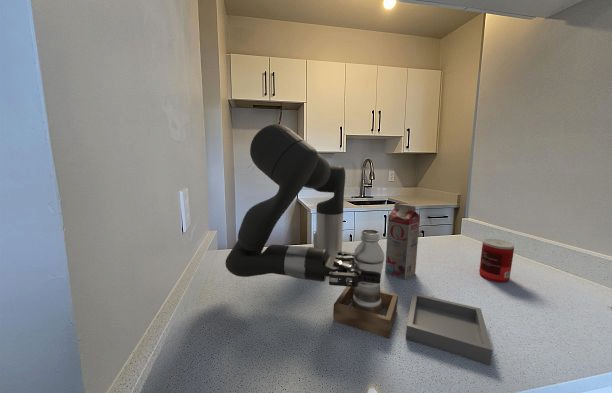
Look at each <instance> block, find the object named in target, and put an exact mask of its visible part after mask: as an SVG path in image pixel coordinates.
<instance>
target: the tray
mask: <svg viewBox="0 0 612 393" xmlns="http://www.w3.org/2000/svg"><path fill="white" fill-rule="evenodd" d="M410 301H411V302H410V307H409V311H408V312H409V313H408V317H407V321H406V322H407V323H406V331H405V340H408V341H412V342H413V343H417V344H420V345H423V346H426V345H427V346H426V347H430V348H433V347H434V349H436V350H439V351H442V352H446V353H449V354H453V355H456V356H459V357H462V358H466V359H468V360H471V361H474V362H478V363H480V364H481V363H482V364H484V365H488V366H491V364H492V363H491V362H492V356H493V348H492V345H491V340H490V338H489V333H488V330H487V325H486V323H485V318H484V315H483V312H482V308H480V307H475V306H471V305H467V304H463V303H457V302H454V301H450V300H446V299H441V298H436V297H433V296H428V295H424V294H419V293H415V292H413V293H412V296H411V300H410Z"/></svg>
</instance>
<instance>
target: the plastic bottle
mask: <svg viewBox="0 0 612 393" xmlns="http://www.w3.org/2000/svg"><path fill="white" fill-rule="evenodd" d="M360 240H361V241H360V243H359V244H358V245H357V246H356V247H355V249H354V252H353V253H354V261H355V269H358V270H361V271H362V272H363V271H371V272H378V273H380V275H381V277H380V283H379V284H376V283H368V282H361V283H358V286H357V287H355V291H354V296H353V300H351V301H352V302H351V307H355V308H358V309H362V310H365V311H369V312H372V313H376V314H379V315H382V314H381V313H382V310H383V309H382V301H381V293H380V290H381V281H382V280H381V279H382V271H383V267H384V266H383V265H384V261H385V253H384V251H383V249H382V246H381V245H380V244H379V241H380V232H379V231H378V230H377V229H376V230H375V229H370V228H368V229H367V228H366V229H362V230H361V236H360Z"/></svg>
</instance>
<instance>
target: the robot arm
mask: <svg viewBox="0 0 612 393" xmlns="http://www.w3.org/2000/svg"><path fill="white" fill-rule="evenodd" d="M250 143H251V144H250V147H249V154H250V158H251V161H252V162H253V164H254V165H255V167H256V168H258V169H259V171H261V172H262V173H263V174H264V175H266V176H267V177H268V178H269V179H270V180H271V181H272V182H274V183H275V184H276V185H278V191H277V192H276V194H275V195H274V196H272V197H270V198H268V199H266V200H263V201H261V202H258V203H255V204H254V205H253V206H252V207H250V208H249V209H248V210H247V211H246V213H245V214H244V216H243V219H242V222H241V224H240V227H239V229H238V233H237V241H236V242H235V244H234V246H233V247H232V249H231V250H230V252H229V253H228V255H227V257H226V258H225V261H224V262H225V267H226V269H227V271H228V272H229V273H230V274H232V275H234V276H236V277H241V278H242V277H243V278H246V277H247V278H248V277H257V276H262V275H263V276H264V275H269V274H274V275H279V276H280V275H281V276H287V277H291V278H296V279H300V280H309V281H316V282H320V283H321V282H325V281H326V279H327V278H328V285H330V286H337V287H346V286H348V287H357V286H358V283H361V282H368V283H376V284H379V283H380V284H381V281H380V280H381V279H380V277H381V278H382V274H381V275H380V273H378V272H371V271H363V272H362V271H361V270H358V269H355V261H354V252H348V251H343V228H344V226H343V225H344V202H345V201H344V199H345V198H344V197H345V196H344V195H345V186H346V170H345V168H344V166H342V165H335V164H334V165H333V164H332V165H331V164H329V161H327V159H326V158H325V157H324V156H323V155H322V154H320V153H318V151H317V149H315V147H314V146H312V144H310V143H309V142H308V141H307V140H305V139H303V138H302V137H301V136H300V135H298V134H297V133H296V132H294V130H292V129H291V128H289V127H287V126H286V125H282V124H279V123H278V124H277V123H274V124H269V125H267V126H264V127H263V128H261V129H260V130H259V131H258V132H257V133H256V134H255V135H254V136H253V137H252V140H251V142H250ZM303 188H308V189H313V190H315V191H316V192H320V193H331V194H332V193H333V196H332V197H331V198H329V199H326V200H323V201H320V202H318V203H317V204H316V209H315V210H316V211H315V213H316V218H315V220H316V223H315V224H316V226H315V229H316V230H315V232H314V233H313V247H311V246H303V245H285V244H283V245H282V244H271V245H269V246H268V247H266V249H265V250H264V248H265V245H266V244H267V242H268V240H269V239H270V237H271V234H272V233H273V230H274V229H275V227H276V225H277V223H278V221H279V220H280V219H281V217H282V216H283V215H284V214H285V212H286V211H287V210H288V208H289V207H290V206H291V204H292V203H293V201H294V200H295V199H296V197H297V196H298V195H299V193H300V192H301V191H302V189H303Z"/></svg>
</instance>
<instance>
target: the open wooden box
mask: <svg viewBox="0 0 612 393" xmlns="http://www.w3.org/2000/svg"><path fill="white" fill-rule="evenodd" d="M354 291H355V287H348V286H345V288H344V289H343V291H341V294H340V295H339V296H338V298H337V299H336V301H334V303H333V310H332V312H333V317H332V319H333V321H332V322H335V323H339V324H341V325H345V326H347V327H351V328H354V329H356V330H360V331H364V332H367V333H370V334H373V335H376V336H379V337H382V338H386V339H388V340H389V339H390V338H391V333H392V329H393V325H394V322H395V319H396V314H397V312H396V311H397V310H398V299H399V298H398V297H399V295H398V294H397V293H392V292H388V291H384V290H381V289H380V293H381V301H382V310H386V311H387V312H386V315H383V314H380V315H379V314H376V313H372V312H369V311H365V310H362V309H358V308H355V307H353V306H352V305H349V304H350V303H351V301H352V300H353V296H354Z"/></svg>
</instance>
